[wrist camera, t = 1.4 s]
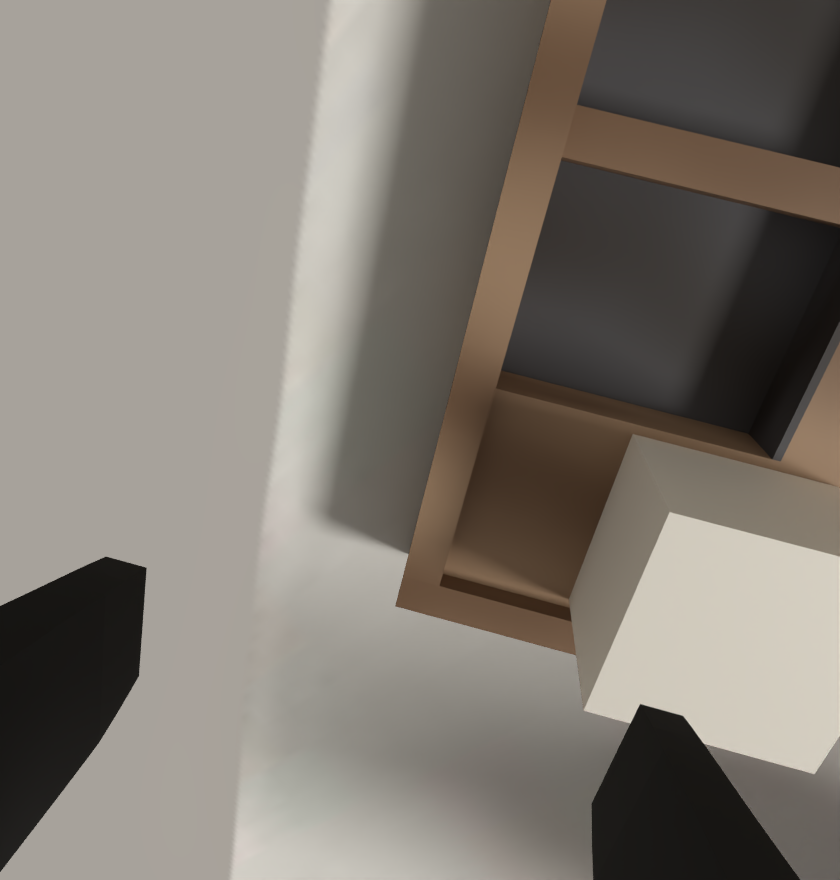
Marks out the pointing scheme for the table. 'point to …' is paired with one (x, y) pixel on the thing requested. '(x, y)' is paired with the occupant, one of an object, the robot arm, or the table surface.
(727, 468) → the cream block
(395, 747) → the table surface
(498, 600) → the tray
